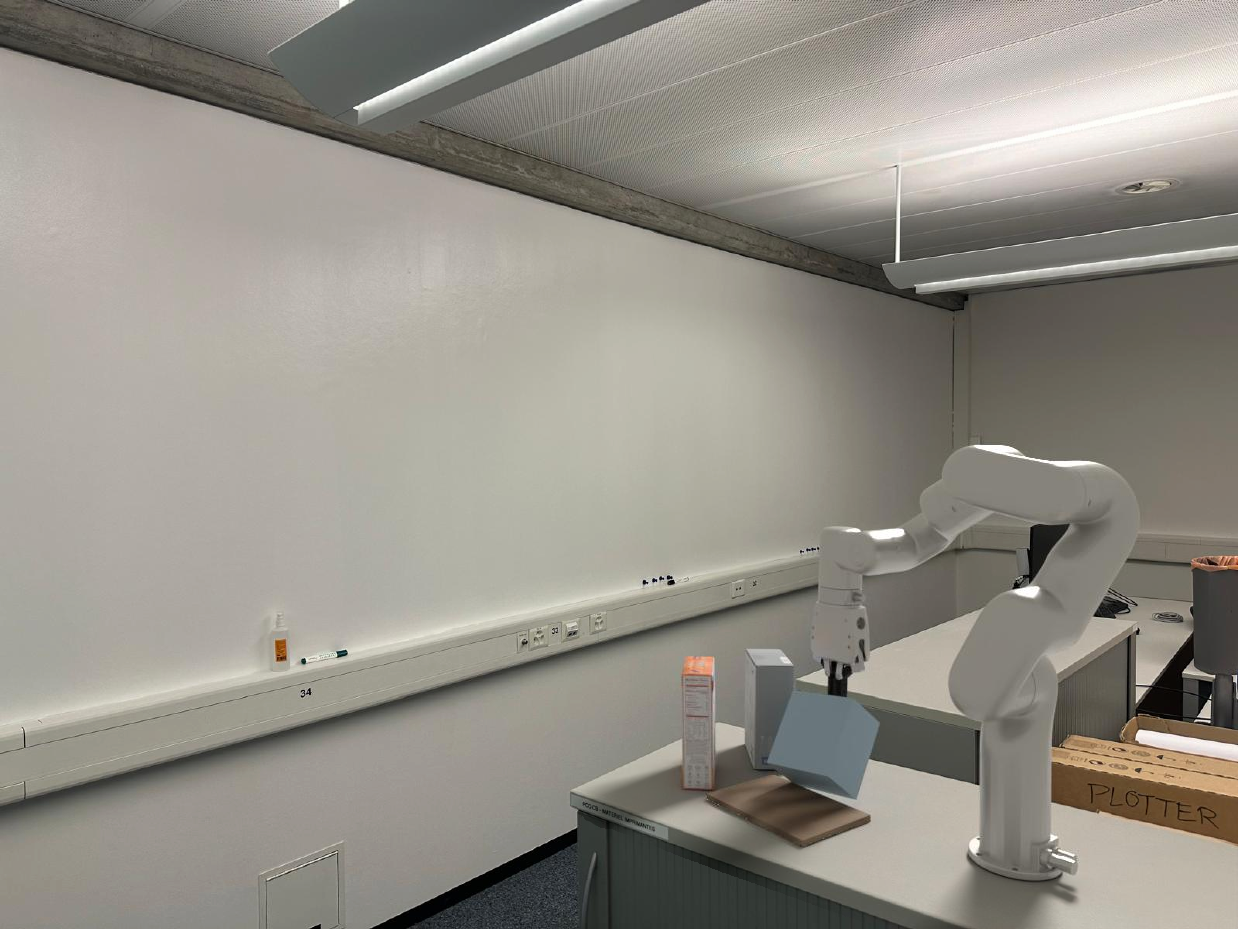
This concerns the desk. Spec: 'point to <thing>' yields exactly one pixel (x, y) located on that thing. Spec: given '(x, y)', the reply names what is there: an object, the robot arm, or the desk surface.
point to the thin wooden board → (789, 809)
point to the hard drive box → (765, 700)
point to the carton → (824, 743)
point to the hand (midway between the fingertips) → (837, 698)
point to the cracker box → (698, 723)
